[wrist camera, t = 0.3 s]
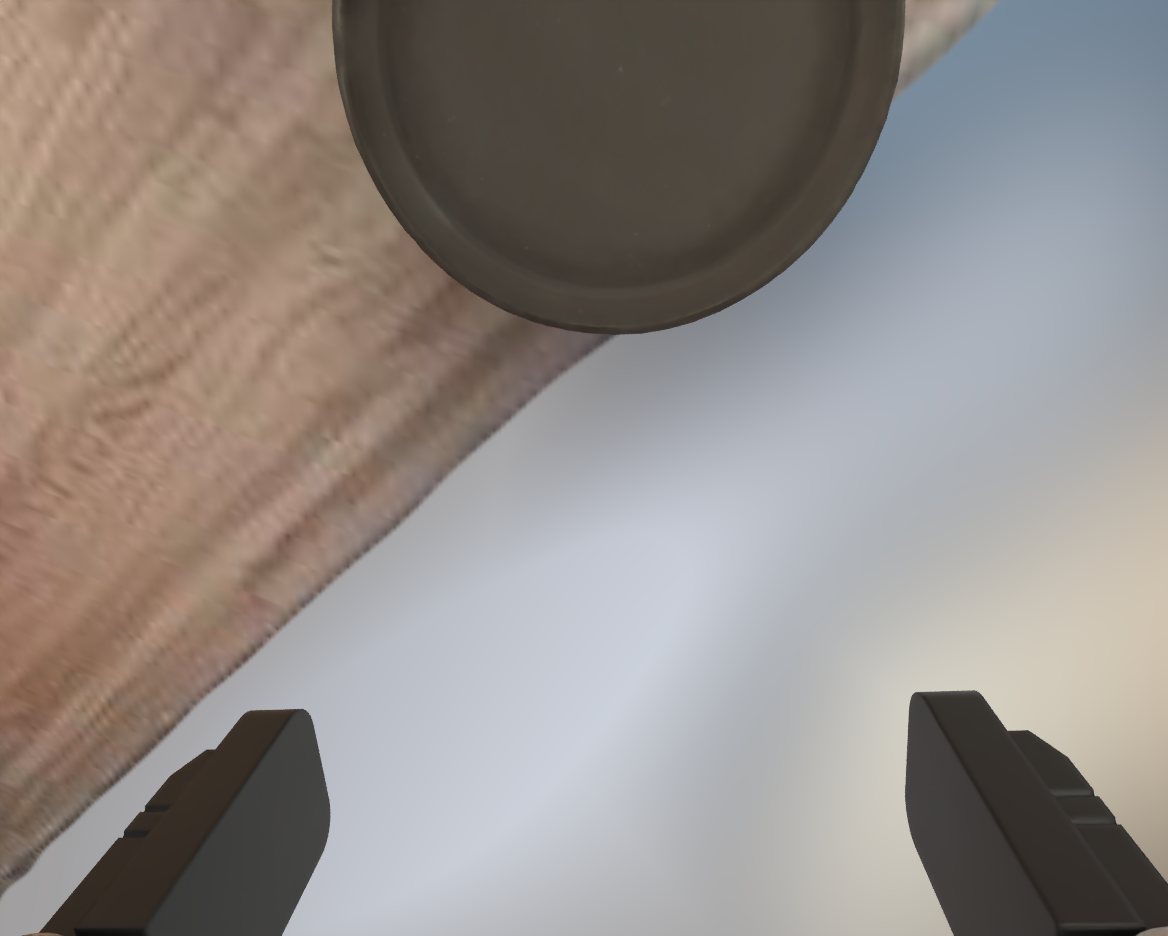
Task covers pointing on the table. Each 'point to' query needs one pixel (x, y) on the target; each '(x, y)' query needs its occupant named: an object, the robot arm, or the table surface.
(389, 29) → the coffee can
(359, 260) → the table surface
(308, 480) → the table surface
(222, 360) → the table surface
